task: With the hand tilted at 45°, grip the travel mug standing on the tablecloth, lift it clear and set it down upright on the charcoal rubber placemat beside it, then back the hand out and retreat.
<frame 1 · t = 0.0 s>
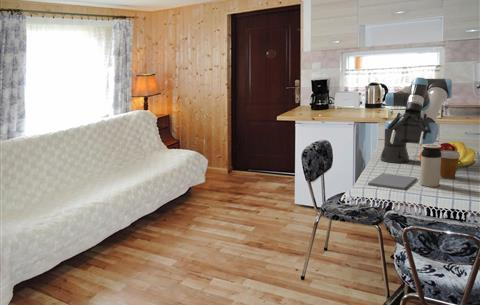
hand: (405, 143, 204), 15 cm above the table, tool tilted 35°, fingers open, 13 cm apart
placemat: (392, 182, 194), on the table
disposable coffee cup: (447, 177, 200), on the table
travel mug: (429, 185, 188), on the table
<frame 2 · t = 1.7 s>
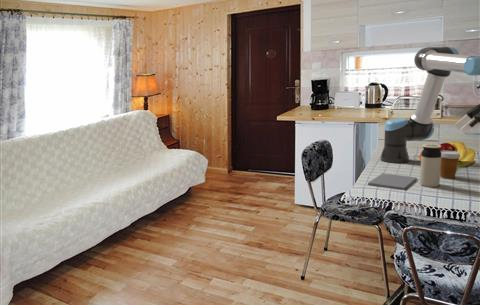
hand: (459, 129, 180), 25 cm above the table, tool tilted 45°, fingers open, 13 cm apart
nothing on the table moved.
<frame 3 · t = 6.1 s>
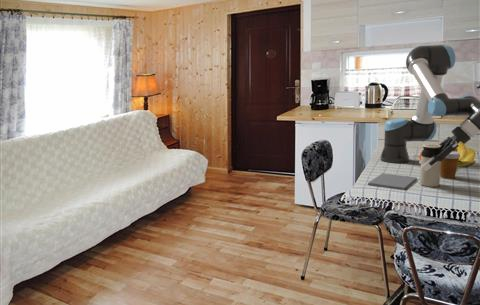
hand: (422, 166, 187), 8 cm above the table, tool tilted 45°, fingers closed on travel mug, 8 cm apart
travel mug: (429, 185, 188), on the table, touching gripper
everything else where it was.
when the fingers open (11 cm above the table, at t = 12.1 s): travel mug drops 1 cm, resting on placemat.
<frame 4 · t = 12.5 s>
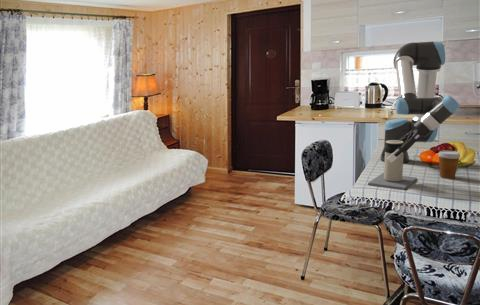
hand: (388, 157, 192), 12 cm above the table, tool tilted 45°, fingers open, 13 cm apart
travel mug: (392, 180, 194), point 1 cm above the table, touching placemat
everything else where it was.
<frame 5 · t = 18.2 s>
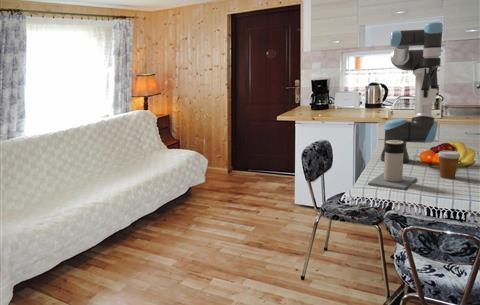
hand: (429, 103, 198), 35 cm above the table, tool pointing down, fingers open, 13 cm apart
nothing on the table moved.
at the end: travel mug inside the target area on the placemat (0.2 cm from its centre), point 0.8 cm above the placemat's base; travel mug tilted 0°; the gripper is holding nothing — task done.
